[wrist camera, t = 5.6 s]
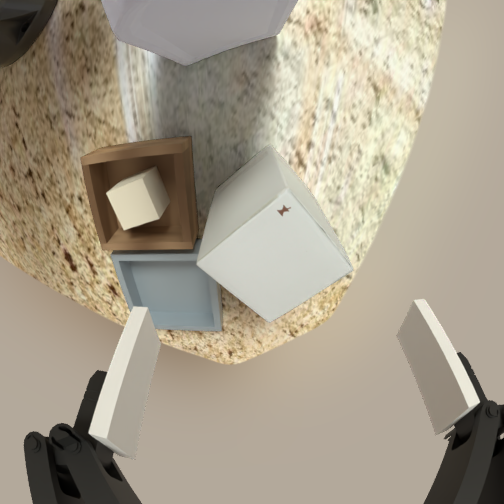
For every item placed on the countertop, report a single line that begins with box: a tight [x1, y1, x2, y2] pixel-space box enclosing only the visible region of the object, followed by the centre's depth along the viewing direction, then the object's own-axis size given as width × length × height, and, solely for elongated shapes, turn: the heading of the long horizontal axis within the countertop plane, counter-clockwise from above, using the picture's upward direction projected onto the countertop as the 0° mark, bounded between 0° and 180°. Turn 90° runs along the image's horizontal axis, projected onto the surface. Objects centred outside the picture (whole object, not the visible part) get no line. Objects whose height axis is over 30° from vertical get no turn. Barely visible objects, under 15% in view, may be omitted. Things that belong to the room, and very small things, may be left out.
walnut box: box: [81, 136, 199, 250], centre depth 24 cm, size 10×10×4 cm
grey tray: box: [111, 239, 223, 331], centre depth 31 cm, size 12×12×3 cm
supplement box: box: [196, 144, 353, 323], centre depth 22 cm, size 7×7×13 cm
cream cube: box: [106, 166, 170, 230], centre depth 24 cm, size 4×4×4 cm
